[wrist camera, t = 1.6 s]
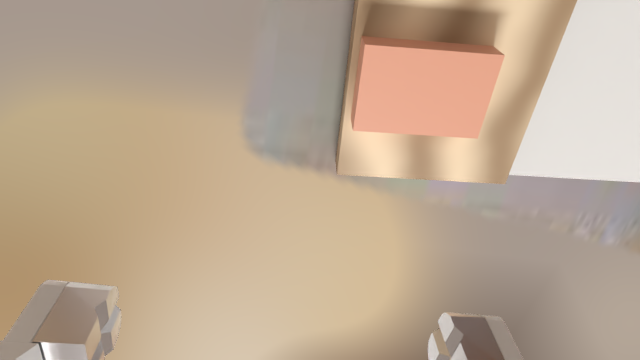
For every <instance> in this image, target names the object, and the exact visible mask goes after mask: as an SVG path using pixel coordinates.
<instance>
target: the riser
mask: <svg viewBox="0 0 640 360" xmlns="http://www.w3.org/2000/svg"><path fill="white" fill-rule="evenodd" d="M576 2H577V0H355V3H354V11H353V20H352V28H351V36H350V45H349V53H348V62H347V70H346V78H345V87H344V95H343V104H342V112H341V120H340V129H339V137H338V146H337V154H336V171H337V175H353V176H371V177H389V178H407V179H425V180H443V181H460V182H478V183H496V184H505V183H506V180H507V178H508V175H509V172H510V170H511V167H512V165H513V162H514V160H515V157H516V155H517V152H518V150H519V147H520V145H521V142H522V140H523V137H524V134H525V132H526V129H527V127H528V124H529V122H530V119H531V117H532V114H533V112H534V109H535V107H536V104H537V101H538V99H539V96H540V94H541V91H542V89H543V86H544V84H545V81H546V79H547V76H548V74H549V71H550V68H551V66H552V63H553V61H554V58H555V56H556V53H557V51H558V48H559V46H560V43H561V41H562V38H563V35H564V33H565V30H566V28H567V25H568V23H569V20H570V18H571V15H572V13H573V10H574V8H575V5H576ZM362 36H369V37H382V38H395V39H407V40H420V41H433V42H446V43H459V44H472V45H485V46H494V47H495V48H496V49H498V50H499V51H500V52H501V53H503V54H504V55H505V57H504V60H503V63H502V66H501V69H500V72H499V75H498V78H497V81H496V84H495V87H494V90H493V93H492V96H491V100H490V103H489V106H488V109H487V112H486V115H485V118H484V121H483V124H482V127H481V130H480V133H479V136H478V139H475V138H459V137H443V136H427V135H411V134H395V133H380V132H364V131H353V128H352V123H351V112H352V104H353V97H354V89H355V82H356V74H357V67H358V59H359V52H360V44H361V37H362Z"/></svg>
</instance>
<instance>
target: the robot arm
mask: <svg viewBox="0 0 640 360" xmlns="http://www.w3.org/2000/svg"><path fill="white" fill-rule="evenodd" d="M118 298H119V293H118V288H117V287H114V286H106V285H96V284H87V283H77V282H66V281H56V280H46V281H45V282H44V283H42V284H41V285H40V286H39V288H38V289H37V291H36V292H35V294H34V295H33V297H32V298H31V300H30V301H29V303H28V304H27V306H26V307H25V309H24V310H23V312H22V313H21V315H20V316H19V317H18V319H17V321H16V322H15V324H14V325H13V326H12V328H11V330H10V331H9V333H8V334H7V335H6V337H5V338H4V340H3V341H0V360H105V357H104V356H106V355H107V354H108V353H109V352H111V351H112V350H113V349H114V346H115V343H116V341H117V338H118V334H119V330H120V325H121V310H120V309H119V308H118V307H117V306H116V303H117V300H118ZM438 323H439V326H440V328H438V329H437V330H435V331H433V332H432V334H431V336H430V339H429V341H428V358H429V360H524V359H523V357H522V356H521V353H520V351H519V349H518V348H517V345H516V344H515V341H514V340H513V338H512V336H511V334H510V332H509V330H508V328H507V326H506V324H505V322H504V320H503V319H502V318H501V317H499V316H488V315H478V314H463V313H449V312H445V313H443V314H442V315H441V316H440V318H439V320H438Z"/></svg>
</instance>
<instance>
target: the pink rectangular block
mask: <svg viewBox="0 0 640 360" xmlns="http://www.w3.org/2000/svg"><path fill="white" fill-rule="evenodd" d="M504 57H505V55H504V54H503V53H501V52H500V51H499V50H498V49H496V48H495V47H494V46H485V45H472V44H459V43H446V42H433V41H420V40H407V39H395V38H382V37H369V36H362V37H361V44H360V52H359V59H358V67H357V74H356V82H355V89H354V97H353V104H352V112H351V123H352V128H353V131H364V132H380V133H395V134H411V135H427V136H443V137H459V138H475V139H478V136H479V133H480V130H481V127H482V124H483V121H484V118H485V115H486V112H487V109H488V106H489V103H490V100H491V96H492V93H493V90H494V87H495V84H496V81H497V78H498V75H499V72H500V69H501V66H502V63H503V60H504Z"/></svg>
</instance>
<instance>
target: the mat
mask: <svg viewBox="0 0 640 360" xmlns="http://www.w3.org/2000/svg"><path fill="white" fill-rule="evenodd" d="M509 175H522V176H539V177H556V178H574V179H591V180H609V181H626V182H640V0H577V2H576V5H575V8H574V10H573V13H572V15H571V18H570V20H569V23H568V25H567V28H566V30H565V33H564V35H563V38H562V41H561V43H560V46H559V48H558V51H557V53H556V56H555V58H554V61H553V63H552V66H551V68H550V71H549V74H548V76H547V79H546V81H545V84H544V86H543V89H542V91H541V94H540V96H539V99H538V101H537V104H536V107H535V109H534V112H533V114H532V117H531V119H530V122H529V124H528V127H527V129H526V132H525V134H524V137H523V140H522V142H521V145H520V147H519V150H518V152H517V155H516V157H515V160H514V162H513V165H512V167H511V170H510V172H509Z"/></svg>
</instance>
